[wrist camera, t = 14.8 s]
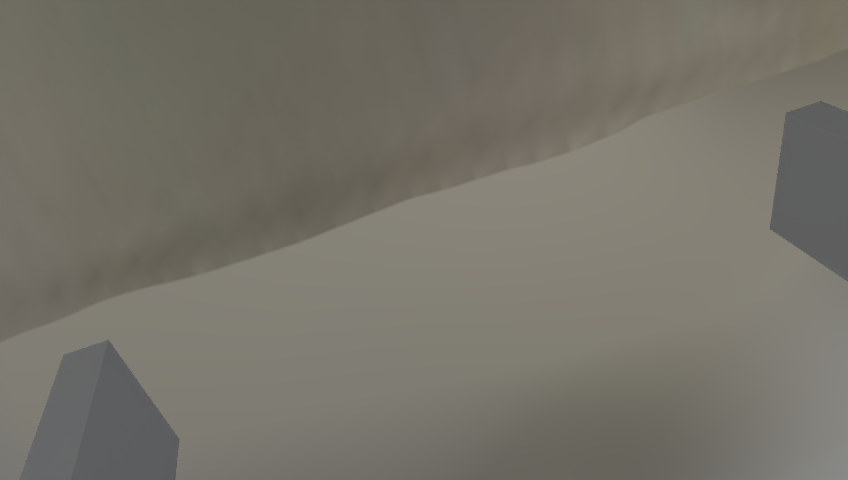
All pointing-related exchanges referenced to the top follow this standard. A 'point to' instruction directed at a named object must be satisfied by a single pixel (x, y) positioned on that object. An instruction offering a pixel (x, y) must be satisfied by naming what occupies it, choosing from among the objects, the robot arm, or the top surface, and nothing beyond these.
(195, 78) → the top surface
